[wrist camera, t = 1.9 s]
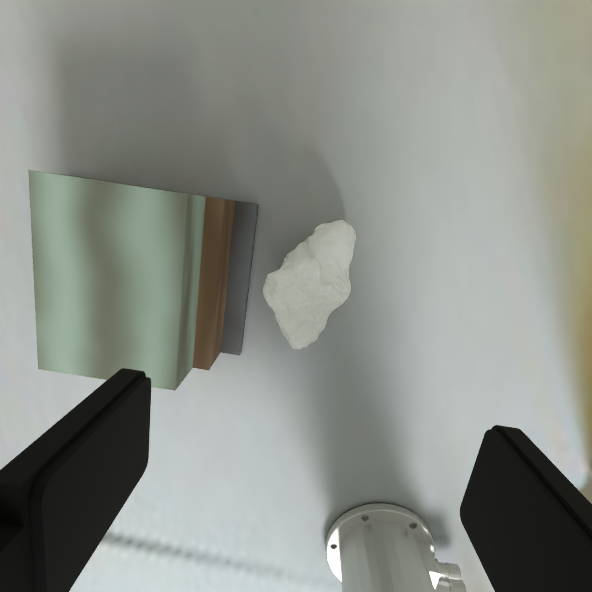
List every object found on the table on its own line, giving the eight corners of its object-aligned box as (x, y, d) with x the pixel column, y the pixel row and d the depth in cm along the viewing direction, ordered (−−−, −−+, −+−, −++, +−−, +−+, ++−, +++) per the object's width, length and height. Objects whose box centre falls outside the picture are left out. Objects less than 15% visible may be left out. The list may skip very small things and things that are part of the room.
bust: (331, 216, 34) (250, 186, 25) (399, 240, 29) (331, 215, 20) (292, 323, 36) (206, 331, 28) (348, 360, 32) (269, 383, 23)
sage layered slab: (258, 204, 31) (238, 201, 23) (241, 352, 35) (218, 397, 27) (68, 175, 32) (-22, 162, 23) (71, 325, 35) (-5, 362, 27)
